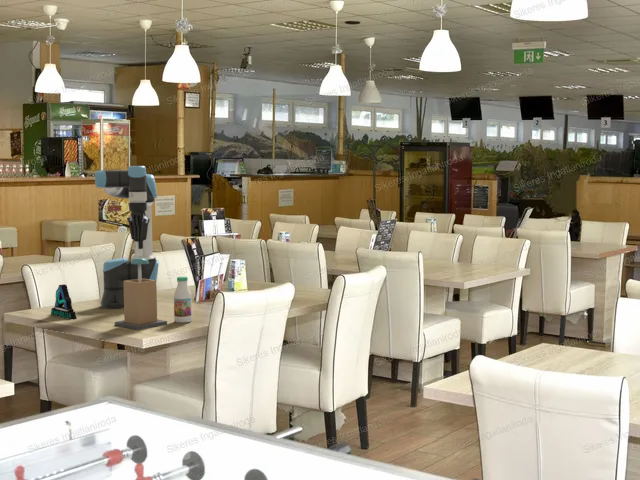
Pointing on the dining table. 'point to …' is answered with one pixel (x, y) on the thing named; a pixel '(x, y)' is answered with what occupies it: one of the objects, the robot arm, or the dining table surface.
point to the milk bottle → (182, 302)
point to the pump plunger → (139, 265)
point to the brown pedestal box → (140, 305)
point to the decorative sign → (61, 300)
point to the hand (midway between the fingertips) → (139, 256)
